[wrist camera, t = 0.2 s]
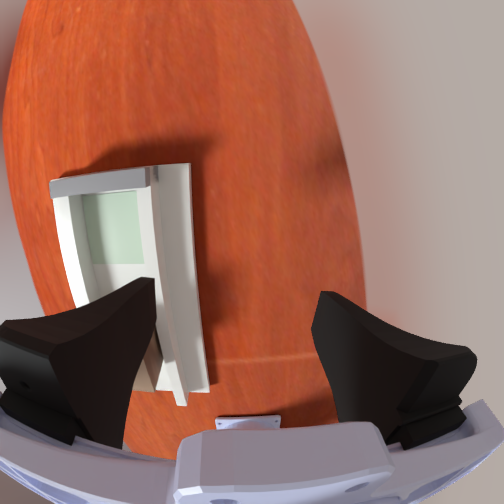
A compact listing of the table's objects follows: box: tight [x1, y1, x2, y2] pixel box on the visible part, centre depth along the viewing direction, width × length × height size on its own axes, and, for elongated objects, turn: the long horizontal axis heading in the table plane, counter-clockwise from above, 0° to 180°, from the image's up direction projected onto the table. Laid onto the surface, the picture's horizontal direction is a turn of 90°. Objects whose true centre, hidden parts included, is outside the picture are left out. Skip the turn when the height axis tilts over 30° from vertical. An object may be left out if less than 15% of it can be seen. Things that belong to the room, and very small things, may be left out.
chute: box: [49, 163, 210, 406], centre depth 20 cm, size 22×12×4 cm, turn 0°
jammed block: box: [132, 324, 164, 392], centre depth 19 cm, size 5×5×5 cm
